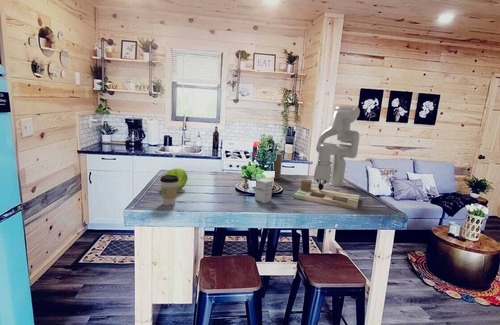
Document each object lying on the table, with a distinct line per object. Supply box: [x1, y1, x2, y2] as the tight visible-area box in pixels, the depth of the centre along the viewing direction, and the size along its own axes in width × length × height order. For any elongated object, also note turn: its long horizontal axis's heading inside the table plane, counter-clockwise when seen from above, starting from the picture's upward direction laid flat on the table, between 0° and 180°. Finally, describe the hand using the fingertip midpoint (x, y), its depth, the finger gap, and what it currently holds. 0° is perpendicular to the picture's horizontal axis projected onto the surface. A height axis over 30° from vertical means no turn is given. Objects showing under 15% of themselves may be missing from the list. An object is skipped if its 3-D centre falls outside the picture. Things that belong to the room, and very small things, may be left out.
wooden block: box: [274, 151, 283, 180], centre depth 239 cm, size 10×10×20 cm
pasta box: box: [251, 141, 260, 162], centre depth 223 cm, size 28×8×28 cm, turn 178°
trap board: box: [293, 186, 360, 210], centre depth 194 cm, size 24×38×2 cm, turn 67°
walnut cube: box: [300, 178, 312, 191], centre depth 203 cm, size 6×6×6 cm
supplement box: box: [254, 177, 274, 204], centre depth 180 cm, size 7×7×13 cm
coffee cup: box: [159, 174, 179, 206], centre depth 164 cm, size 10×10×15 cm
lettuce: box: [164, 168, 189, 190], centre depth 190 cm, size 15×20×14 cm
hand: (320, 189), depth 202 cm, fingers closed
